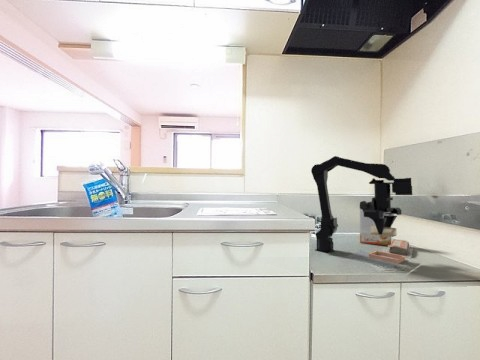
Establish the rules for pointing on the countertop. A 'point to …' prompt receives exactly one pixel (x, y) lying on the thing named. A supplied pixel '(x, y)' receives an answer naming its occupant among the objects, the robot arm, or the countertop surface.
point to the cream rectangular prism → (384, 231)
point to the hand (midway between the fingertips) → (383, 233)
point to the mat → (370, 259)
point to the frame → (398, 257)
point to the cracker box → (366, 232)
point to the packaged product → (400, 248)
